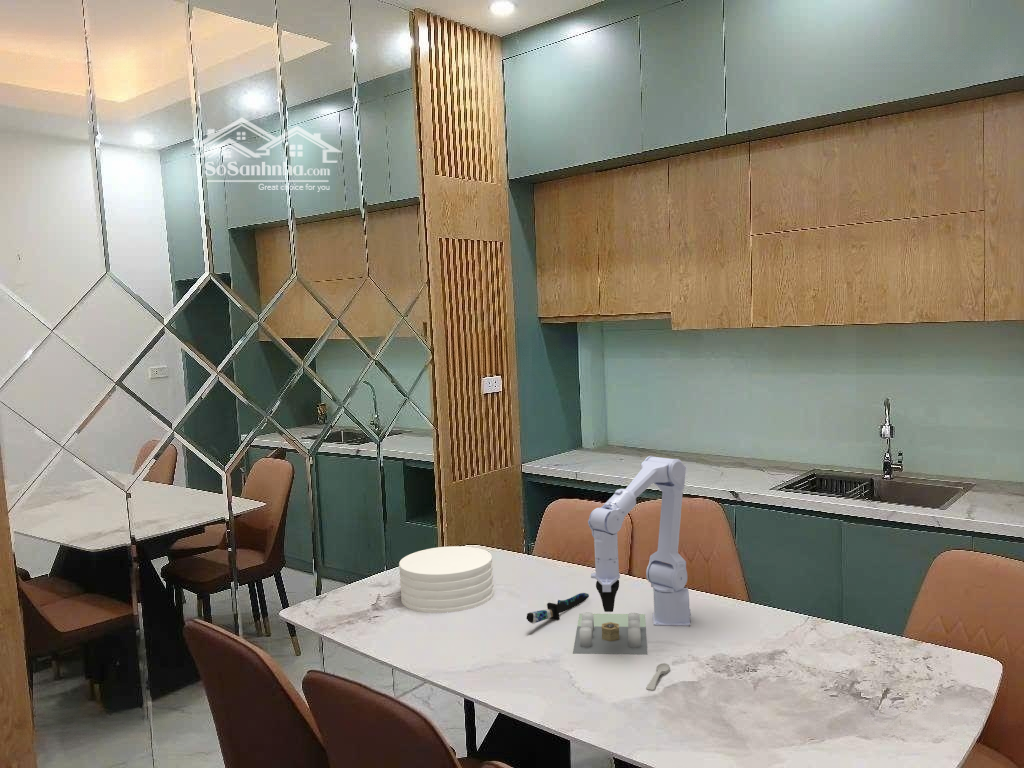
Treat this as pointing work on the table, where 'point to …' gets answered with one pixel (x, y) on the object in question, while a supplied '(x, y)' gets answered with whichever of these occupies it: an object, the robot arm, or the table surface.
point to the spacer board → (628, 643)
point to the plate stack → (446, 579)
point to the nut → (610, 631)
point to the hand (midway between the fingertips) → (608, 610)
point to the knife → (556, 608)
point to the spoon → (660, 669)
